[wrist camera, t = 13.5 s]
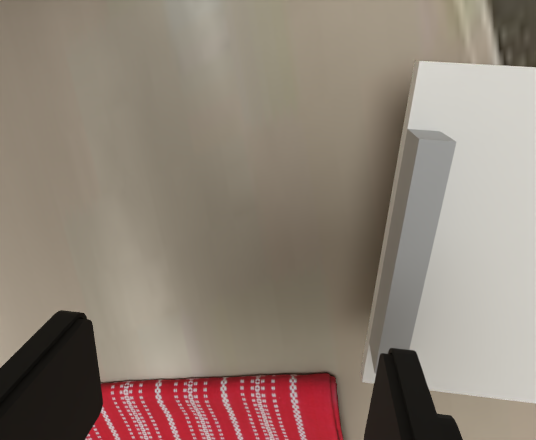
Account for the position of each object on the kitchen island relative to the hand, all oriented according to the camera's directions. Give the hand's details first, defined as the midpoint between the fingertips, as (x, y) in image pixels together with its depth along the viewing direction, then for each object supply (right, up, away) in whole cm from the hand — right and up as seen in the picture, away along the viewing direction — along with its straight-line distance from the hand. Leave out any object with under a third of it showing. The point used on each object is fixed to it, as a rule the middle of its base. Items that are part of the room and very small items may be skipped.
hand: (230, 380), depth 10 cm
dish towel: (-4, -15, +25) cm, 29 cm away
